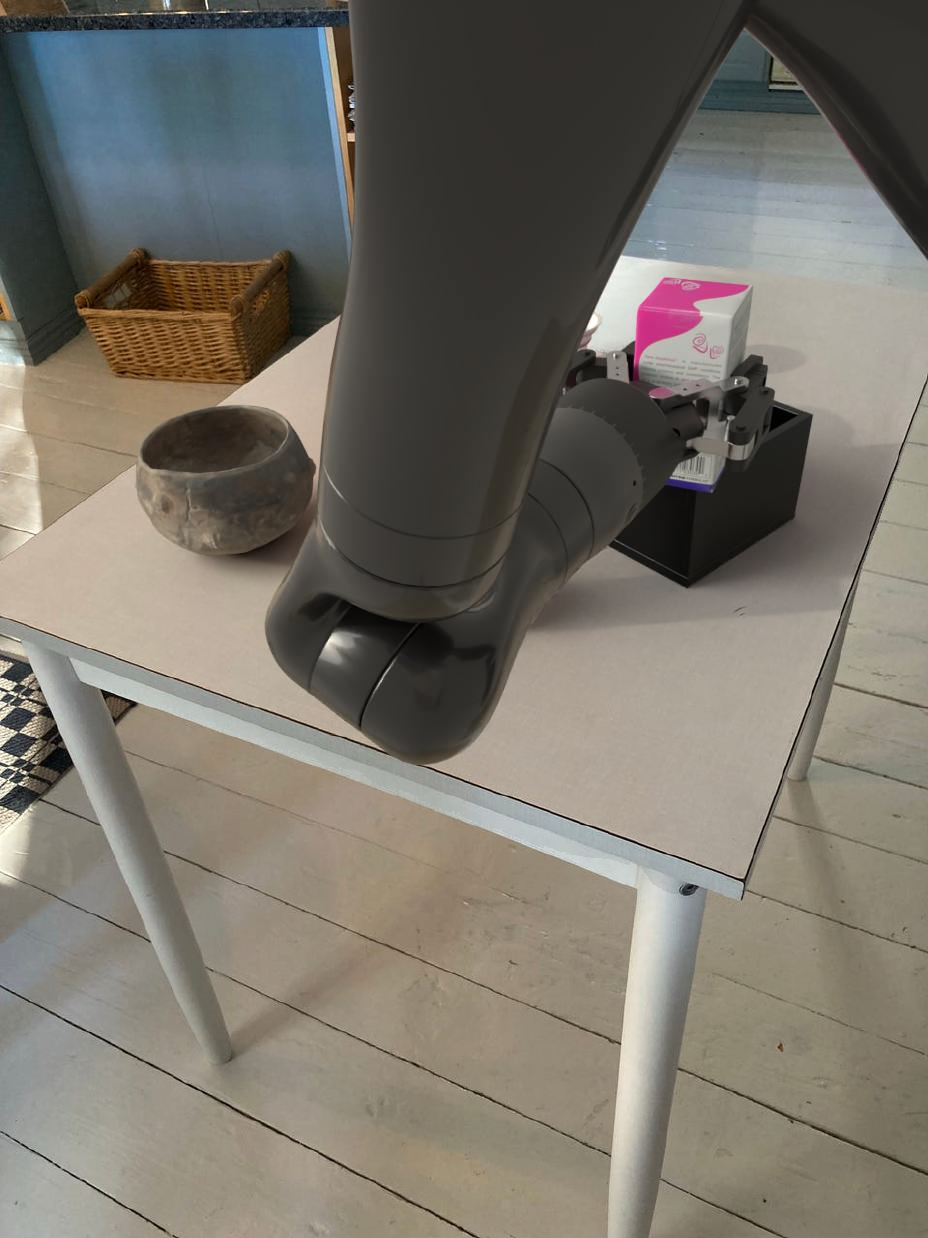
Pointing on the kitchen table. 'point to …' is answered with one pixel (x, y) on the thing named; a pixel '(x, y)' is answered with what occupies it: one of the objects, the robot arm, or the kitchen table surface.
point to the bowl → (224, 478)
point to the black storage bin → (722, 508)
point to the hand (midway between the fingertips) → (703, 358)
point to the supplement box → (692, 350)
